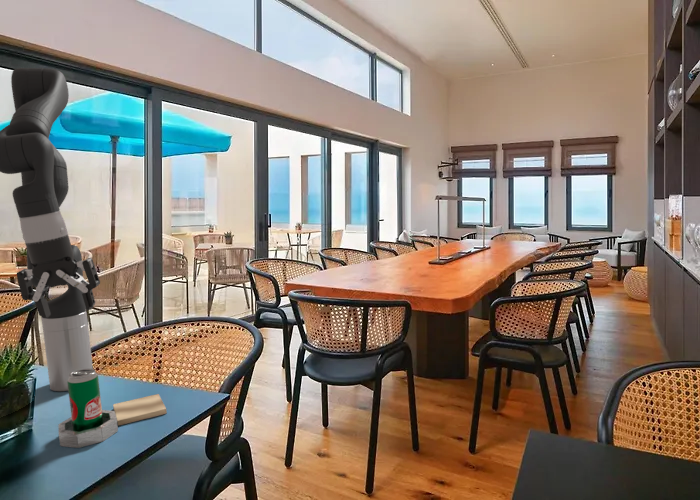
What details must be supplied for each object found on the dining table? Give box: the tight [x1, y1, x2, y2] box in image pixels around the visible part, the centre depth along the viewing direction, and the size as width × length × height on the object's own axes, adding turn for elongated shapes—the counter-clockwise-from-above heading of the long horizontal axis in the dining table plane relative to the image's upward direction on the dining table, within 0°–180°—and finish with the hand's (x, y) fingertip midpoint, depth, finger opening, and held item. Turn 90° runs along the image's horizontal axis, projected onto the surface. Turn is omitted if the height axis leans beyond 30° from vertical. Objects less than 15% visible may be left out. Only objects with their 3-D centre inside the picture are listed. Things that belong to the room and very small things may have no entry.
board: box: [112, 393, 168, 426], centre depth 102 cm, size 9×9×1 cm
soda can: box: [67, 368, 103, 432], centre depth 93 cm, size 5×5×12 cm
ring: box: [57, 409, 119, 449], centre depth 93 cm, size 10×10×2 cm
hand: (68, 312), depth 103 cm, fingers open, 8 cm apart
